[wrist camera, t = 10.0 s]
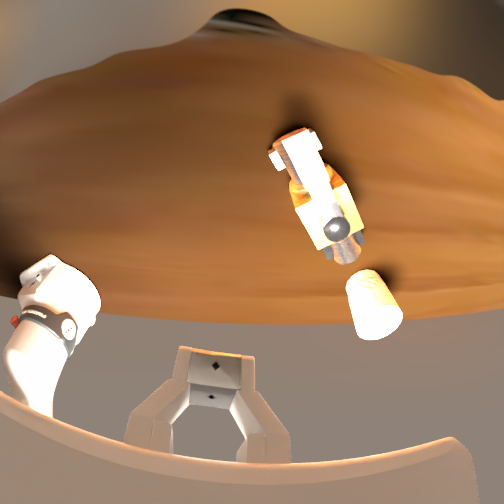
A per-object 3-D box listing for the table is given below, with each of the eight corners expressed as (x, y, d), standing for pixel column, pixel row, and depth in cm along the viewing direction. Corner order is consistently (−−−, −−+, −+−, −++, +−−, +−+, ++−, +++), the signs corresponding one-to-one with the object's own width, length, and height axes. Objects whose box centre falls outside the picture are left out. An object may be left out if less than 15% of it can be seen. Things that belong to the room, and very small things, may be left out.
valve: (361, 234, 44) (378, 264, 37) (324, 252, 46) (335, 285, 39) (307, 121, 35) (321, 132, 28) (263, 145, 37) (266, 161, 30)
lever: (350, 228, 34) (353, 235, 32) (326, 239, 35) (329, 245, 33) (306, 126, 27) (309, 129, 26) (278, 139, 28) (280, 142, 27)
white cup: (390, 280, 49) (410, 318, 41) (359, 305, 52) (373, 345, 44) (366, 258, 46) (387, 298, 38) (333, 287, 50) (347, 329, 41)
